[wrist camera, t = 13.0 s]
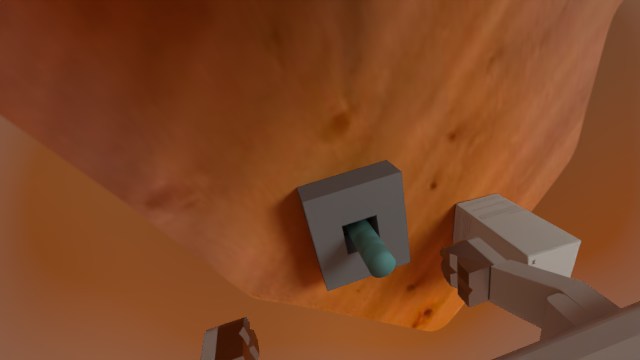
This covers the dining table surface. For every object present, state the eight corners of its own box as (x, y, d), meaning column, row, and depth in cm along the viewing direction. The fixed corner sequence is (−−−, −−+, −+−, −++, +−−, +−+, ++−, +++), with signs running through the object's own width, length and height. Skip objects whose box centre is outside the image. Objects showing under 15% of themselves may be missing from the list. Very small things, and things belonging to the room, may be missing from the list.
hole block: (386, 160, 38) (401, 171, 34) (397, 244, 44) (410, 261, 40) (296, 187, 36) (302, 202, 33) (320, 270, 43) (327, 291, 39)
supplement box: (451, 243, 47) (517, 304, 35) (454, 202, 43) (528, 256, 32) (492, 232, 48) (568, 288, 36) (498, 191, 45) (584, 239, 33)
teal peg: (360, 205, 40) (394, 251, 31) (363, 223, 41) (397, 272, 32) (339, 212, 39) (367, 260, 30) (343, 230, 41) (371, 281, 32)
